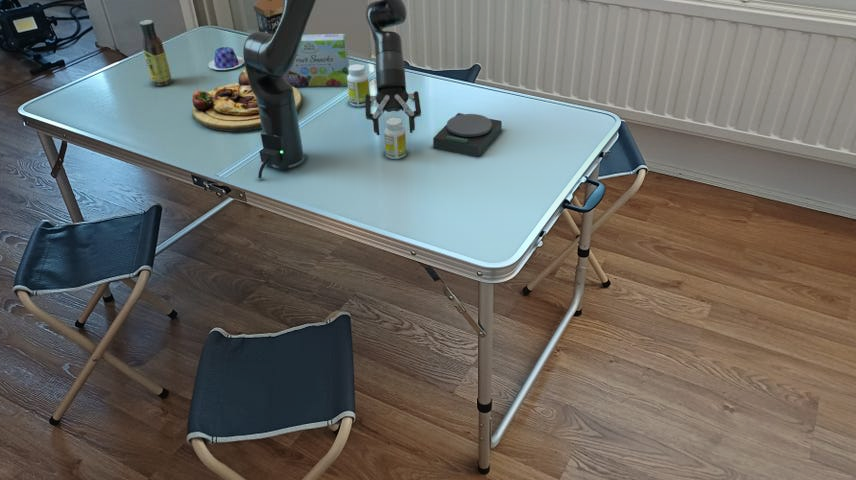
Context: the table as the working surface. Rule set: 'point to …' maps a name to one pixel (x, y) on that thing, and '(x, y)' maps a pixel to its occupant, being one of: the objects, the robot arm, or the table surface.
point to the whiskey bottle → (268, 14)
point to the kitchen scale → (467, 134)
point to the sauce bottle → (155, 55)
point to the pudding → (225, 59)
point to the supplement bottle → (395, 139)
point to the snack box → (320, 61)
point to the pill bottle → (357, 85)
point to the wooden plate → (231, 106)
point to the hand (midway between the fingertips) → (394, 133)
